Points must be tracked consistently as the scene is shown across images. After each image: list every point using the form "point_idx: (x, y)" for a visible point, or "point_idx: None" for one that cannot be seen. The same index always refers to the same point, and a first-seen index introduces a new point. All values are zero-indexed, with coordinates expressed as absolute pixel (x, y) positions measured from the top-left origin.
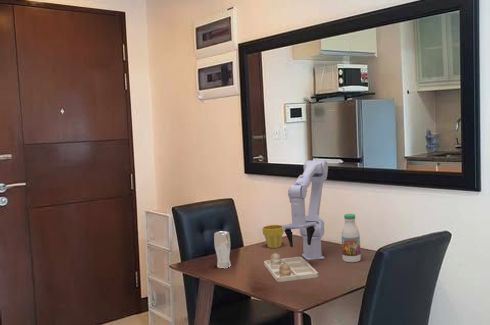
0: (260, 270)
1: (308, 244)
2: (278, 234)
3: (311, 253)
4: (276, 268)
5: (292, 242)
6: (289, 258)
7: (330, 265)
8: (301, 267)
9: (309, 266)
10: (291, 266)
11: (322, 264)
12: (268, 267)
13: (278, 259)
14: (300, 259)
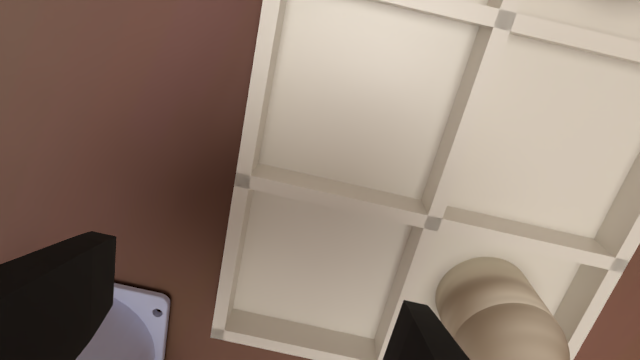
0: (626, 297)
1: (112, 265)
2: None
3: (99, 334)
4: (535, 227)
5: (431, 348)
6: (322, 350)
7: (32, 76)
8: (315, 140)
9: (277, 23)
10: (393, 197)
11: (91, 145)
12: (633, 243)
13: (508, 303)
14: (231, 309)
